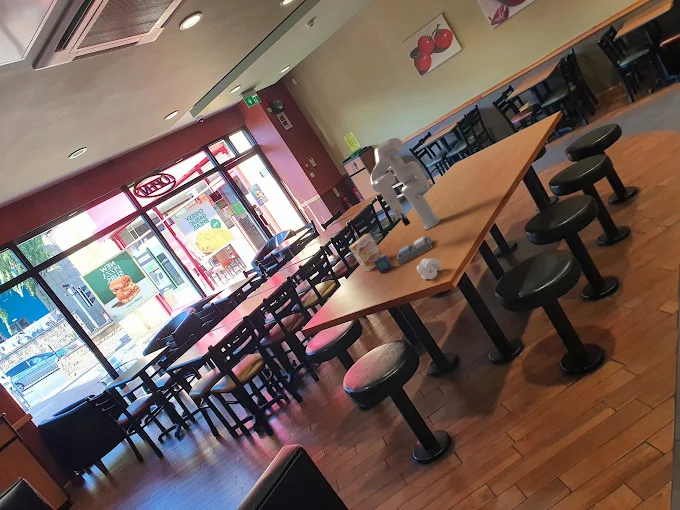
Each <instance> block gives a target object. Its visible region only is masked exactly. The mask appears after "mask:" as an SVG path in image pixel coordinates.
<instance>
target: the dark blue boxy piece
mask: <svg viewBox="0 0 680 510" xmlns="http://www.w3.org/2000/svg"><path fill="white" fill-rule="evenodd" d="M373 263H374V264H375V267H376V269H377V270H378V272H379V273H380V274H381V275H382V274H384V273H387V272H388V271H390V270H391V269H392V268H393V269H394V265H393V263H392V262H391V260H390V259H389V256H387V254H383V256H382V257H379V255H378V256H377V259H375V260H374V261H373Z"/></svg>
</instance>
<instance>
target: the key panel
mask: <svg viewBox="0 0 680 510" xmlns="http://www.w3.org/2000/svg"><path fill="white" fill-rule="evenodd" d="M424 239H425V240H426V243H425V244H423V245H422V246H420V247H418V248H415V246H414V243H413V244H412V245H409V246H410V248H411V252H409V253H407V254H405V255H403V256H402V257H401V255H400V254H399V251H398V253H397V257H396V261H397V264H399V265H400V266H402V265H404V264H405V263H407V262H409V261H411V260H412V258H413V257H415V256H417V255H418V254H420V253H422V252H424V251H426V250H427V249H429V248H431V246H432V247H433V240H432V239H431V237H430V235H427V236H426V237H424ZM431 249H432V248H431ZM429 250H430V249H429ZM426 252H427V251H426ZM424 253H425V252H424ZM422 254H423V253H422ZM420 255H421V254H420ZM418 256H419V255H418ZM418 256H417V257H418ZM415 258H416V257H415ZM410 259H411V260H410ZM413 259H414V258H413ZM408 260H409V261H408ZM406 261H407V262H406ZM403 263H404V264H403ZM401 264H402V265H401Z"/></svg>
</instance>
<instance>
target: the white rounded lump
mask: <svg viewBox="0 0 680 510" xmlns="http://www.w3.org/2000/svg"><path fill="white" fill-rule="evenodd" d="M441 268H442V264H441V261H440V260H439V259H437V258H434V257H433V258H423V259H422V260H421V261H420V263H419V264H418V265H417V266H416V271H417V273H418V274H419V275H420V276H421V278H422V279H423V280H424V281H427V280H434V278H435V277H436V276H437V277H438V275H439V272H440V270H441ZM437 271H438V272H437ZM437 274H438V275H437ZM437 277H436V278H437ZM436 278H435V279H436ZM426 279H427V280H426Z"/></svg>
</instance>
